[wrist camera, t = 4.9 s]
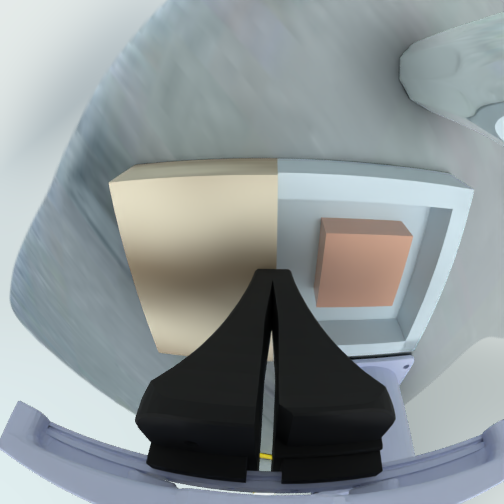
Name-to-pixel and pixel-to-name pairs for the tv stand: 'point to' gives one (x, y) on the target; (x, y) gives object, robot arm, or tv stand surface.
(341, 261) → the tile
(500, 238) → the tv stand surface
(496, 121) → the milkshake
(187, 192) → the beige wooden block
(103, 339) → the tv stand surface
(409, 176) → the box
